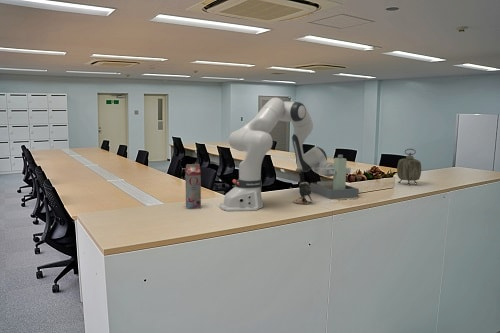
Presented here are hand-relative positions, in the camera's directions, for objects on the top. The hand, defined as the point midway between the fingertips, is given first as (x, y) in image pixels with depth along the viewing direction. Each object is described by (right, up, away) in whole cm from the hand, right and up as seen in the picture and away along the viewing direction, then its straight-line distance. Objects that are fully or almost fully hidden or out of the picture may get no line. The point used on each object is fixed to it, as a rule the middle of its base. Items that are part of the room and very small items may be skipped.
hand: (340, 172), depth 221 cm
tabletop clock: (+58, -9, +48) cm, 76 cm away
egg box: (-4, -12, +14) cm, 19 cm away
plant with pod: (-23, -16, -12) cm, 31 cm away
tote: (-2, -14, +8) cm, 16 cm away
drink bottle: (0, -12, +2) cm, 12 cm away
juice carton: (-80, -17, -24) cm, 85 cm away
